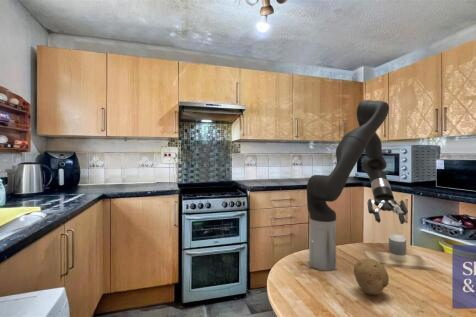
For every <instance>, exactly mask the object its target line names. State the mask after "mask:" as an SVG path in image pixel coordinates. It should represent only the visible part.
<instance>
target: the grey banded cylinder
mask: <svg viewBox="0 0 476 317" xmlns="http://www.w3.org/2000/svg"><path fill="white" fill-rule="evenodd" d="M388 253H390V259H391V260H394V261H398V262H405V255H407V240H406V236H405V235H403V234H401V233H400V234H399V233H389V237H388Z"/></svg>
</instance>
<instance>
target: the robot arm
mask: <svg viewBox="0 0 476 317" xmlns="http://www.w3.org/2000/svg"><path fill="white" fill-rule="evenodd" d="M389 111H390V106H389V104H388V102H386V101H384V100H369V99H366V100H365V99H364V100H362V101H360V102H359V104H358V106H357V108H356V119H357V123H358V126H357V127H356V128H354V129H352V130H350V131H348V132H347V133H346V134H345V135H343V137H342V139H341V140H340V141H339V143H338V144H337V146H336V150H335V160H336V165H335V167H334V168H333V169H332V170H331V172H330V174H328V175H324V174H313V175H311V176H310V177H309V179H308V181H307V184H306V203H307V210H308V214H309V235H308V250H309V251H308V262H309V267H310V268H312V269H313V268H314V269H316V270H320V271H325V272H326V271H327V272H328V271H329V272H330V271H333V270H335V269H336V268H337V213H336V212H335V210H333V209H332V208H331V207H330V206H329V205H328V203H327V202H330V203H333V202H335V201H336V200H338V199H339V198H340V196H341V194H342V192H343V190H344V188H345V187H346V184H347V181H348V179H349V177H350V175H351V173H352V172H353V170H354V167H356V164H357V163H358V161H359V159H360V157H361V156H362V155H363V153H364V154H365V157H366V158H364V159H363V160H362V163H361V166H362V169H363V171H364V172H365V173H366V174H367V176H368V178H369V181H370V184H371V185H370V186H371V188H370V189H371V193H372V195H373V199H374V200H372V199H371V198H368V200H367V209H368V213H369V214H373V216H374V220H375V222H377V223H378V224H379V223H380V222H381V216H380V211H382V212H386V211H387V212H392V213H393V214H396V215H397V216H398V220H399V223H400V224H401V225H403V224H405V222H406V218H405V216H407V214H408V212H409V211H408V209H407V206H406V204H405V201H404V200H402V199H401V200H399V201H396V200H395V197H394V194H393V190H392V187H391V184H390V183H389V180H388V178H387V174H386V173H385V172H386V171H384V170H385V169H386V168H387V161H386V159H385V157H384V155H383V150H382V148H383V147H382V140H381V137H380V136H379V135H378V133H377V130H379V129H380V127H381V126H382V124H383V123H384V122H385V121H386V119H387V117H388V114H389ZM374 205H375V206H376V208H375V209H374V207H373V206H374Z"/></svg>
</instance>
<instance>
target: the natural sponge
mask: <svg viewBox="0 0 476 317" xmlns="http://www.w3.org/2000/svg"><path fill="white" fill-rule="evenodd" d="M353 274H354V278H355V281H356V282H357V284H358V286H359V288H360V289H362V290H363V292H364V293H366V294H368V295H369V296H372V295H373V296H374V295H379V294H381V293H382V292H383V290H384V289H385V288H386V287H388V285H389V281H390V279H389V278H390V276H389V273H388V272H387V269H386V268H385V267H384V266H382V265H381V264H380V263H379V262H377V261H376V260H374V259H370V258H367V257H366V258H362V259H359V260H358V261H357V262H355V264H354V267H353Z"/></svg>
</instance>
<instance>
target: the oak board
mask: <svg viewBox="0 0 476 317" xmlns="http://www.w3.org/2000/svg"><path fill="white" fill-rule="evenodd" d="M363 253H364V255H365V257H366V258H370V259H374V260H376V261H377V262H379V263H380V264H381V265H382V266H383V267H384V266H385V267H393V268H404V269H412V270H413V269H415V270H423V271H424V270H425V271H435V269H436V268H435V267H434V265H432V264H431V263H429V262H428V261H427V260H426V259H424V258H423V257H422V256H421V255H415V254H406V255H405V262H398V261H394V260H391V259H390V252H380V251H371V250H370V251H368V250H364V251H363Z"/></svg>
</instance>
